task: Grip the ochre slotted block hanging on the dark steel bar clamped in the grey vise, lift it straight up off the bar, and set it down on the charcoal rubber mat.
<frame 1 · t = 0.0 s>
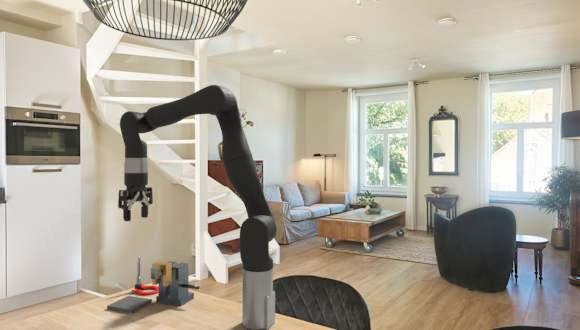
hand: (136, 219, 138), 29 cm above the table, tool pointing down, fingers open, 8 cm apart
vise: (173, 301, 143), on the table
tow hook: (147, 292, 152), on the table
ochre slotted block: (162, 284, 136), point 8 cm above the table, touching vise
rubber mat: (130, 306, 138), on the table
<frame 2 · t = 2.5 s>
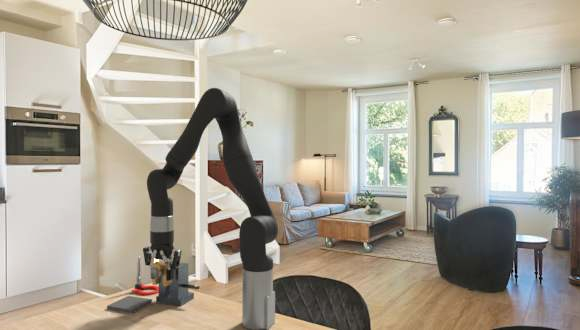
hand: (162, 279, 136), 10 cm above the table, tool pointing down, fingers closed on ochre slotted block, 5 cm apart
ochre slotted block: (162, 284, 136), point 8 cm above the table, touching gripper, vise
everything else where it was.
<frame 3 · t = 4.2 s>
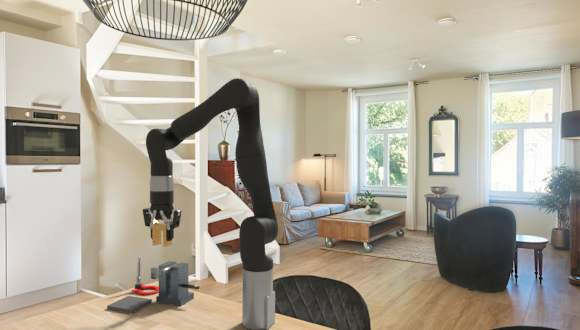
hand: (162, 239, 136), 23 cm above the table, tool pointing down, fingers closed on ochre slotted block, 5 cm apart
ochre slotted block: (162, 245, 136), point 21 cm above the table, touching gripper
everything else where it was.
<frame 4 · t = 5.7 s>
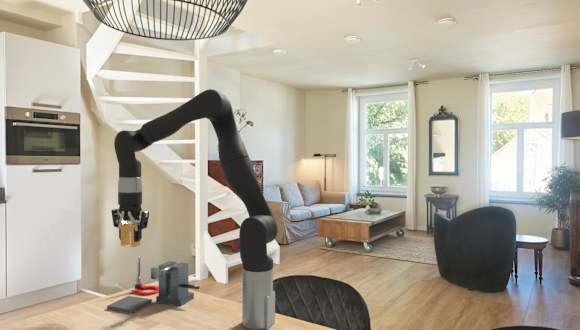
hand: (130, 240, 137), 22 cm above the table, tool pointing down, fingers closed on ochre slotted block, 5 cm apart
ochre slotted block: (130, 245, 137), point 21 cm above the table, touching gripper
everything else where it was.
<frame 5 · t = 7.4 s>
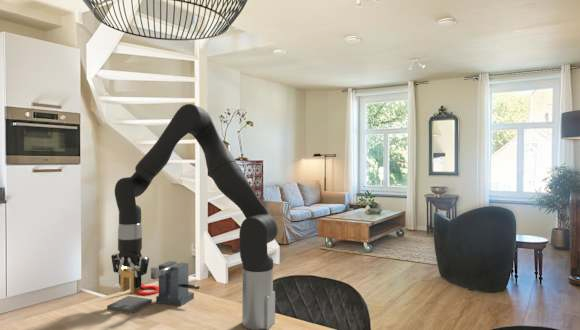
hand: (130, 285, 138), 7 cm above the table, tool pointing down, fingers closed on ochre slotted block, 5 cm apart
ochre slotted block: (130, 290, 138), point 5 cm above the table, touching gripper
everything else where it was.
when the fingers open (4 cm above the table, at t = 8.8 s): ochre slotted block stays where it is, resting on rubber mat.
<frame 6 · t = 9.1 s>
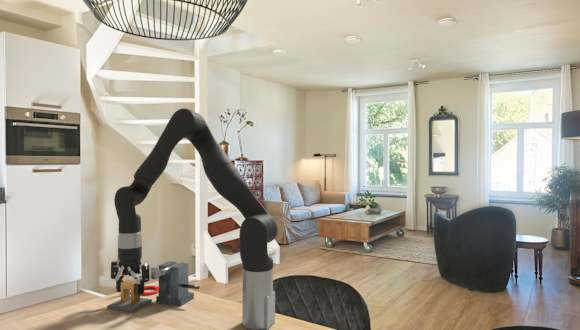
hand: (130, 293, 138), 4 cm above the table, tool pointing down, fingers open, 8 cm apart
ochre slotted block: (130, 302, 138), point 1 cm above the table, touching rubber mat
everything else where it was.
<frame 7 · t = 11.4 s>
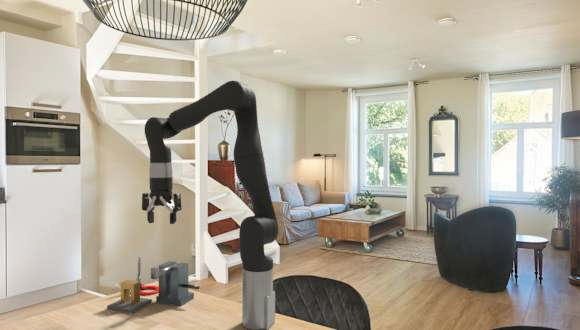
hand: (161, 223, 140), 28 cm above the table, tool pointing down, fingers open, 8 cm apart
nothing on the table moved.
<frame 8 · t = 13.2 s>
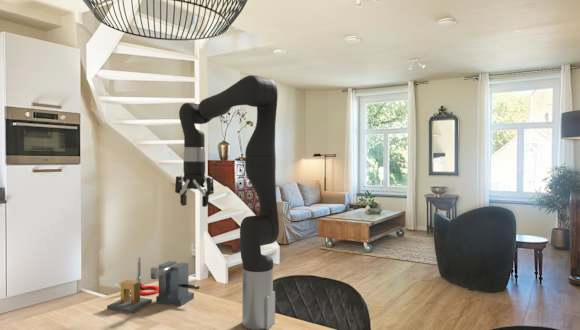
hand: (194, 205, 145), 33 cm above the table, tool pointing down, fingers open, 8 cm apart
nothing on the table moved.
at the end: ochre slotted block 0.1 cm off-centre on the rubber mat, point 1.2 cm above the rubber mat's base; ochre slotted block tilted 0°; ochre slotted block touching rubber mat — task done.
